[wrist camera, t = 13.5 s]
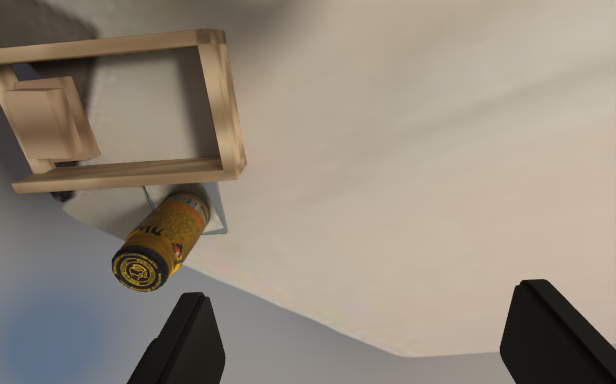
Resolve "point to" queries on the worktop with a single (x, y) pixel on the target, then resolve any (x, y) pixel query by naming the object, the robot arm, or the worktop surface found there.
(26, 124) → the offcut upper
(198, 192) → the condiment
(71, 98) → the offcut lower
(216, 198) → the coaster
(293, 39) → the worktop surface
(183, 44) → the rack
